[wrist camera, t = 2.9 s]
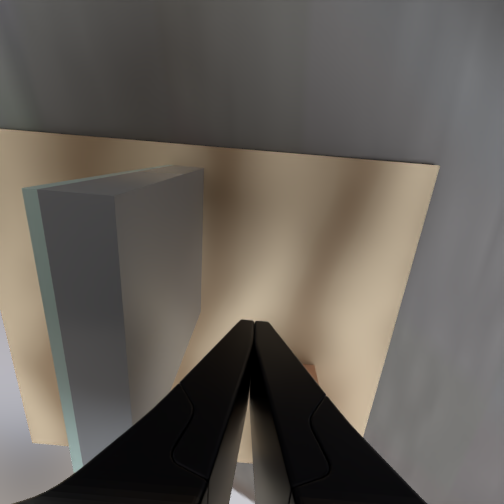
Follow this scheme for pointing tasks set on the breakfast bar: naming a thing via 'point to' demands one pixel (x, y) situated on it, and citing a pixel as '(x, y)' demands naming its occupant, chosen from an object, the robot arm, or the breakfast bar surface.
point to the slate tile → (117, 292)
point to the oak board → (239, 258)
